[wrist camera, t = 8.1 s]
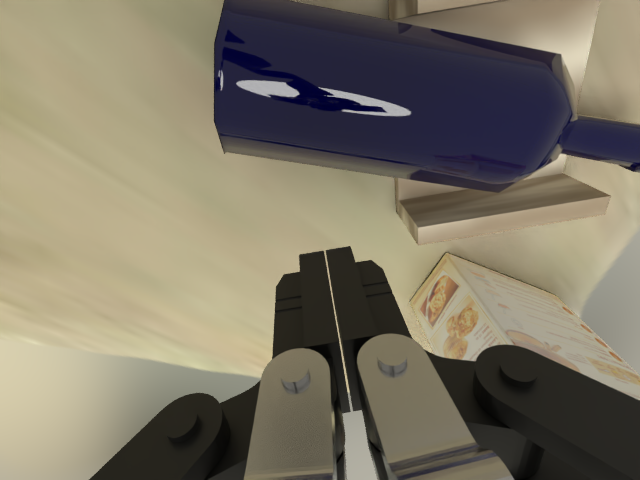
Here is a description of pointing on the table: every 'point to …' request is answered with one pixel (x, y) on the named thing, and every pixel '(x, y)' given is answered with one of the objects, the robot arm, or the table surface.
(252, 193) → the table surface
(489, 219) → the u rest
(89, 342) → the table surface
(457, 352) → the coffeecake box
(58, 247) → the table surface
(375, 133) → the bottle
